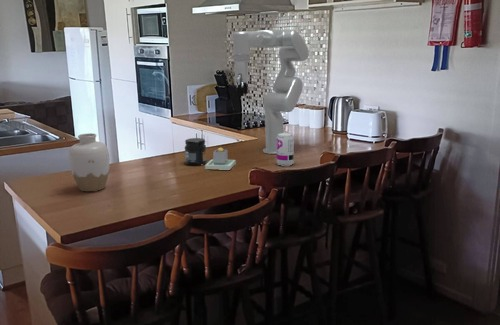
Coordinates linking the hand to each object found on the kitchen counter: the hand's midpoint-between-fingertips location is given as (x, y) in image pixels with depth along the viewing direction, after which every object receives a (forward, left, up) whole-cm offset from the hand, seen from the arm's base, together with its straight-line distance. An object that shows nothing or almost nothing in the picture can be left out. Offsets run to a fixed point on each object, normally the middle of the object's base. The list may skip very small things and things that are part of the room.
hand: (242, 94), depth 234 cm
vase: (+52, -54, -34) cm, 82 cm away
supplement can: (+3, +21, -34) cm, 40 cm away
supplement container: (+6, -23, -34) cm, 41 cm away
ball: (+12, -9, -25) cm, 29 cm away
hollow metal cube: (+12, -9, -33) cm, 36 cm away
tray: (+12, -9, -33) cm, 37 cm away
